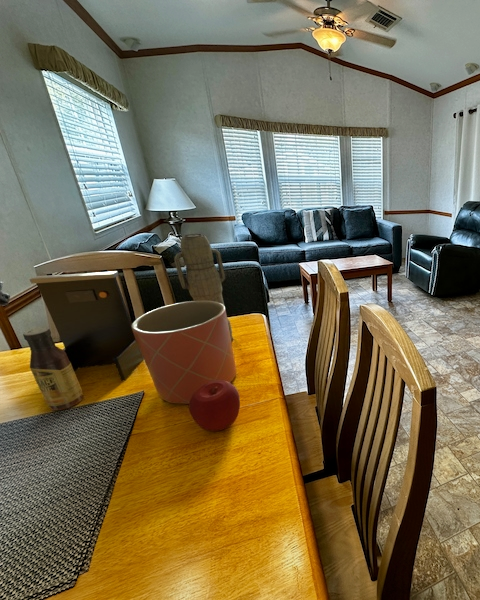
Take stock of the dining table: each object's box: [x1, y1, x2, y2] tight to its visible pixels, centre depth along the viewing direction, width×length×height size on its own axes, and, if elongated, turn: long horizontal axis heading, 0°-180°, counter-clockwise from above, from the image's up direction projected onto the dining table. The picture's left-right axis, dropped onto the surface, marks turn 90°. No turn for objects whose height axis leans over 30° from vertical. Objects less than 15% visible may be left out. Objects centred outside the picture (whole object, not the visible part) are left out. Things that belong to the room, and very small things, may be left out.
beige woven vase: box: [173, 233, 234, 343], centre depth 100 cm, size 9×12×35 cm
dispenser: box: [28, 270, 145, 382], centre depth 86 cm, size 12×18×27 cm, turn 104°
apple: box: [188, 380, 241, 432], centre depth 71 cm, size 10×10×10 cm
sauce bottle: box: [22, 326, 84, 411], centre depth 75 cm, size 7×6×20 cm
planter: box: [132, 300, 237, 405], centre depth 82 cm, size 19×19×20 cm
